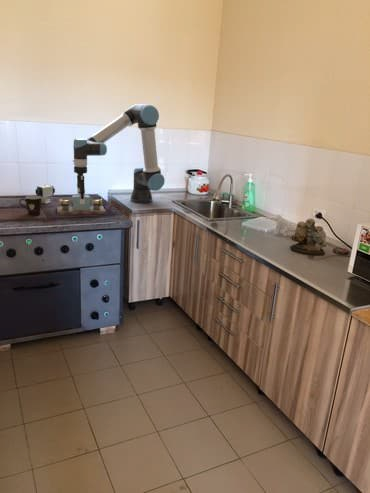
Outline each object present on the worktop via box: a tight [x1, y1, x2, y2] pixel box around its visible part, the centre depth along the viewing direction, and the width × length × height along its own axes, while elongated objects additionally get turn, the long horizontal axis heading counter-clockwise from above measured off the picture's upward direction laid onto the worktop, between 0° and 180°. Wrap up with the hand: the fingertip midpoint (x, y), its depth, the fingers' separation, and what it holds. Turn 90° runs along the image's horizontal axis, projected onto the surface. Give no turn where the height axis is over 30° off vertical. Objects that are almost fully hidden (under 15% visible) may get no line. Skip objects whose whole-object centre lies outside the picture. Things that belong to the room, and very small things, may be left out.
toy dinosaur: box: [265, 213, 297, 237], centre depth 235 cm, size 7×24×11 cm, turn 65°
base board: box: [55, 205, 107, 216], centre depth 256 cm, size 28×13×2 cm, turn 109°
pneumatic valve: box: [35, 183, 56, 205], centre depth 269 cm, size 6×12×12 cm, turn 146°
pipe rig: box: [58, 198, 103, 210], centre depth 255 cm, size 25×4×6 cm, turn 109°
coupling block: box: [70, 194, 91, 210], centre depth 255 cm, size 11×5×8 cm, turn 109°
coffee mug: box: [18, 195, 42, 217], centre depth 242 cm, size 12×9×10 cm
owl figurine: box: [289, 217, 327, 257], centre depth 210 cm, size 18×12×17 cm, turn 78°
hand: (80, 201), depth 255 cm, fingers open, 13 cm apart
